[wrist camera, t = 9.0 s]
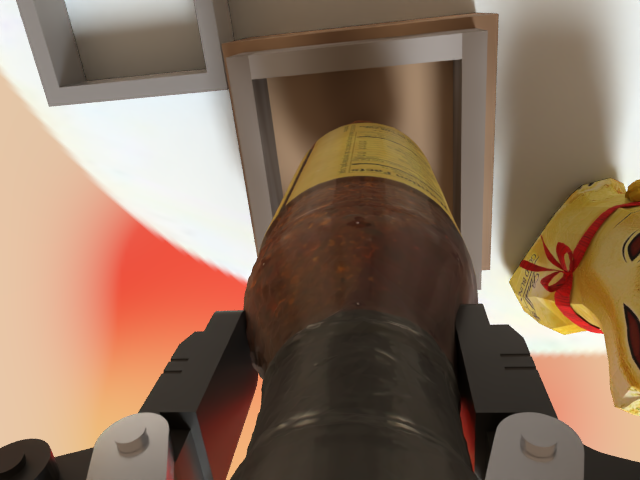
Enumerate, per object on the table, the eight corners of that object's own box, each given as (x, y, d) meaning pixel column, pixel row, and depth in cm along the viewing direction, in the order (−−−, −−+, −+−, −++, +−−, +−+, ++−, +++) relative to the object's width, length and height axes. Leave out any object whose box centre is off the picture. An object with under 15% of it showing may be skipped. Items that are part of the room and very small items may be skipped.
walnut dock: (476, 12, 28) (514, 14, 20) (472, 227, 34) (501, 297, 25) (250, 37, 30) (201, 48, 22) (279, 237, 35) (249, 305, 27)
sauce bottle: (363, 261, 26) (324, 808, 8) (274, 177, 25) (-2, 611, 7) (464, 176, 24) (716, 683, 6) (371, 79, 23) (335, 350, 5)
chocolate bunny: (662, 177, 31) (880, 309, 17) (556, 314, 36) (664, 503, 22) (563, 130, 31) (708, 228, 17) (469, 276, 35) (523, 444, 22)
